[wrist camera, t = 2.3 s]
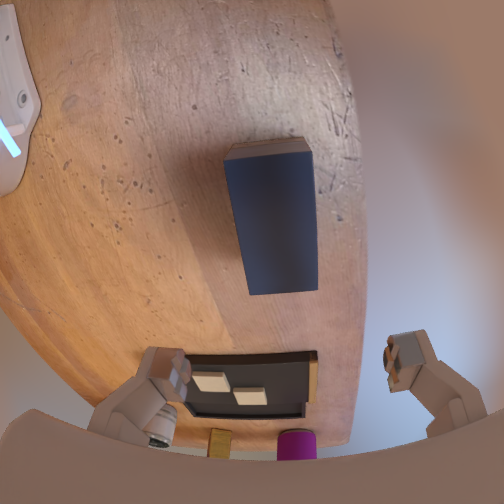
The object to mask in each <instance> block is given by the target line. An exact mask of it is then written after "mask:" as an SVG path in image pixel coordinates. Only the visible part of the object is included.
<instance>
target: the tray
mask: <svg viewBox="0 0 504 504" xmlns="http://www.w3.org/2000/svg"><path fill="white" fill-rule="evenodd" d="M183 404H184V405H185V406H186V408H187V409H188V410H189V411H190V413H191V414H192V415H193V416H194V417H200V418H214V419H238V420H272V419H296V418H305V405H306V402H301V403H284V404H267V405H239V404H214V403H197V402H183Z"/></svg>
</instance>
